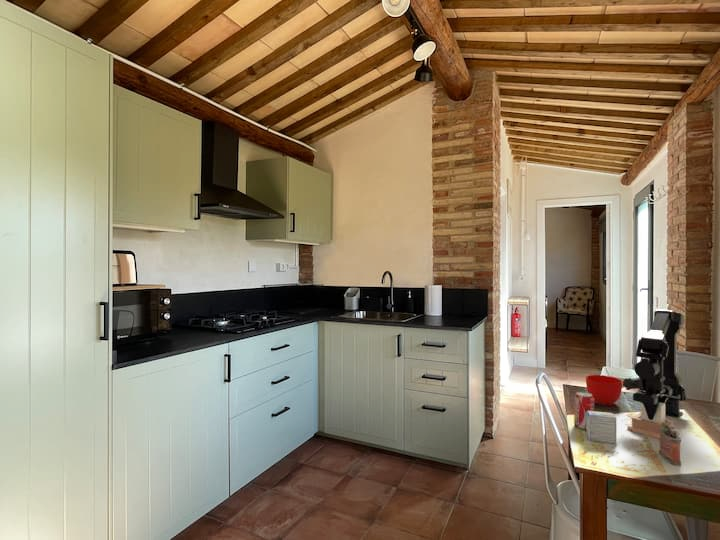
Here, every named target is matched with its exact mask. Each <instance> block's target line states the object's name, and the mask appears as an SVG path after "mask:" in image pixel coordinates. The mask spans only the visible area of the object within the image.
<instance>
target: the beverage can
mask: <svg viewBox="0 0 720 540" xmlns="http://www.w3.org/2000/svg"><path fill="white" fill-rule="evenodd" d="M573 400H574V401H573V402H574V403H573V405H574V406H573V407H574V416H573V417H574V420H573V421H574V425H575V426H576V427H577V428H579V429H582V430H585V431H587V411H595V401H594V398H593V396H592V394H590V393H588V391H577V392H576V393H575V395H574V397H573Z"/></svg>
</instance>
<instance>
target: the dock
mask: <svg viewBox="0 0 720 540" xmlns="http://www.w3.org/2000/svg"><path fill="white" fill-rule="evenodd" d="M665 422H666V423H667V424H668V425H669V426H673V427H674V429H675V430H677V434H676V435H677V436H678V435H679V434H680V430H679V429H677V428H675V420H671V419H667V418H665ZM628 429H629V430H628ZM659 429H665V428H664V427H662V424H658V423H654V422H651V421H647V420H643V419H641V412H639V413H637V414H636V415H635V416H632V417H631V423H630V424H628V425H627V430H628V431H631V430H632V432H634V433H635V432H636V433H639V434H641V435H646V436H648V437H652V438H657V439H659V440H660V432H659Z"/></svg>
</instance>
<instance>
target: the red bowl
mask: <svg viewBox="0 0 720 540" xmlns="http://www.w3.org/2000/svg"><path fill="white" fill-rule="evenodd" d="M585 383H586V390H587V393H590V394H592V396H593V398H594V404H597V403H598V404H597V405H600V404H602V405H601V406H606V405H610V406H613V405H614V404H615V403H616V402H617V401H618V400H619V399H620V397H621V395H622V391H623V390H622V389H623V381H622V380H621V379H620V378H618V377H614V376H608V375H602V374H601V375H600V374H589V375H587V376H586V377H585Z"/></svg>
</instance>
